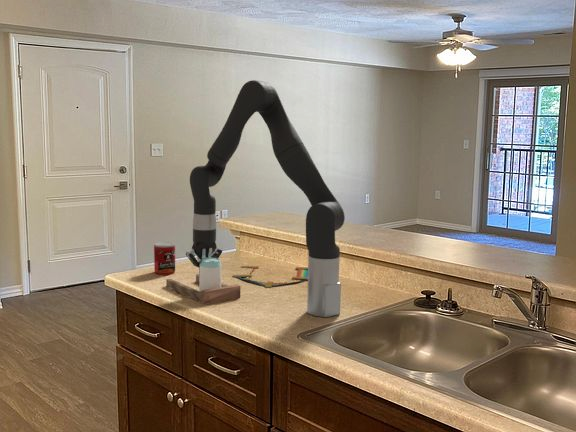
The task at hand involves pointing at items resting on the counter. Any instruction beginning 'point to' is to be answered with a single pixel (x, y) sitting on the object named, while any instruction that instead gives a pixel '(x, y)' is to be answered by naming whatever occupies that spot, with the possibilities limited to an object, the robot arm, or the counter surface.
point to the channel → (206, 292)
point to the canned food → (164, 258)
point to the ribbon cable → (300, 275)
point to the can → (210, 274)
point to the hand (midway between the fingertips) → (204, 278)
